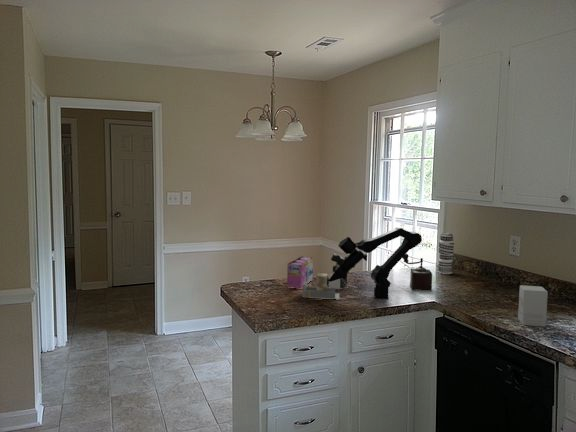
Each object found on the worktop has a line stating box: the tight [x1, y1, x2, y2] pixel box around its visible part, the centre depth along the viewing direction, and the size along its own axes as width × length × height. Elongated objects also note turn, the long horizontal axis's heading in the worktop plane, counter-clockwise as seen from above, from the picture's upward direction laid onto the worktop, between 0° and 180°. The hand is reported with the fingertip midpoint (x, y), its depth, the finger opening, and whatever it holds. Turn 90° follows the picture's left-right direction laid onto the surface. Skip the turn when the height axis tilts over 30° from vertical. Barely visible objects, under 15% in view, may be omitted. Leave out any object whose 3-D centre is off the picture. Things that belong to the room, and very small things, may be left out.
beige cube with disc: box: [316, 272, 329, 291], centre depth 232 cm, size 6×6×10 cm
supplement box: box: [517, 285, 549, 328], centre depth 196 cm, size 9×9×15 cm
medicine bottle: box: [328, 264, 348, 290], centre depth 251 cm, size 7×7×12 cm
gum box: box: [286, 256, 314, 289], centre depth 258 cm, size 24×8×14 cm, turn 159°
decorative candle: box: [437, 232, 455, 275], centre depth 291 cm, size 9×9×25 cm
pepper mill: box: [401, 253, 433, 291], centre depth 253 cm, size 16×11×18 cm
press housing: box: [301, 281, 340, 301], centre depth 233 cm, size 18×10×7 cm, turn 83°
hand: (329, 281), depth 232 cm, fingers closed, pressing on beige cube with disc
